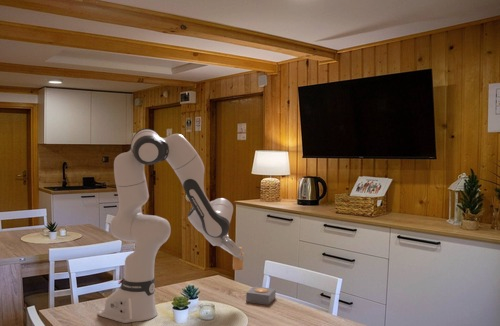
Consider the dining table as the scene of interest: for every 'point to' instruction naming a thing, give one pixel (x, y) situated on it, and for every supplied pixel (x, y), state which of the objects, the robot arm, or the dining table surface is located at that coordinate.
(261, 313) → the dining table surface
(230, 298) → the dining table surface
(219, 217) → the robot arm
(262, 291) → the grey square platform
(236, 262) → the orange bottle
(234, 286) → the dining table surface
